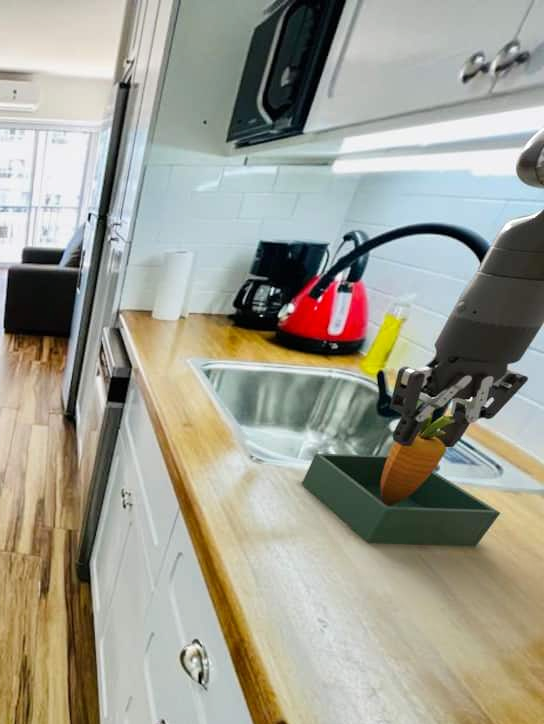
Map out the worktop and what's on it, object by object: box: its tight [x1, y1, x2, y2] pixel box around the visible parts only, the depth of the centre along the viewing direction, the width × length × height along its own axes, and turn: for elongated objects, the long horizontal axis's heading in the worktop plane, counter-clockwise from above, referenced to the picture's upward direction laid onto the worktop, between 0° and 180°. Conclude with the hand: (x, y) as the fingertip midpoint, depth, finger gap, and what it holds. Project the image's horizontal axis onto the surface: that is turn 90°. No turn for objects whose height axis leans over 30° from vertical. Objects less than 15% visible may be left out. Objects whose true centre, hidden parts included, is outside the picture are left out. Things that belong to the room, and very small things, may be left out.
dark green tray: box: [301, 452, 501, 548], centre depth 68 cm, size 14×14×6 cm
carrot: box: [380, 411, 455, 506], centre depth 65 cm, size 5×5×15 cm
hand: (422, 443), depth 64 cm, fingers closed on carrot, 5 cm apart
